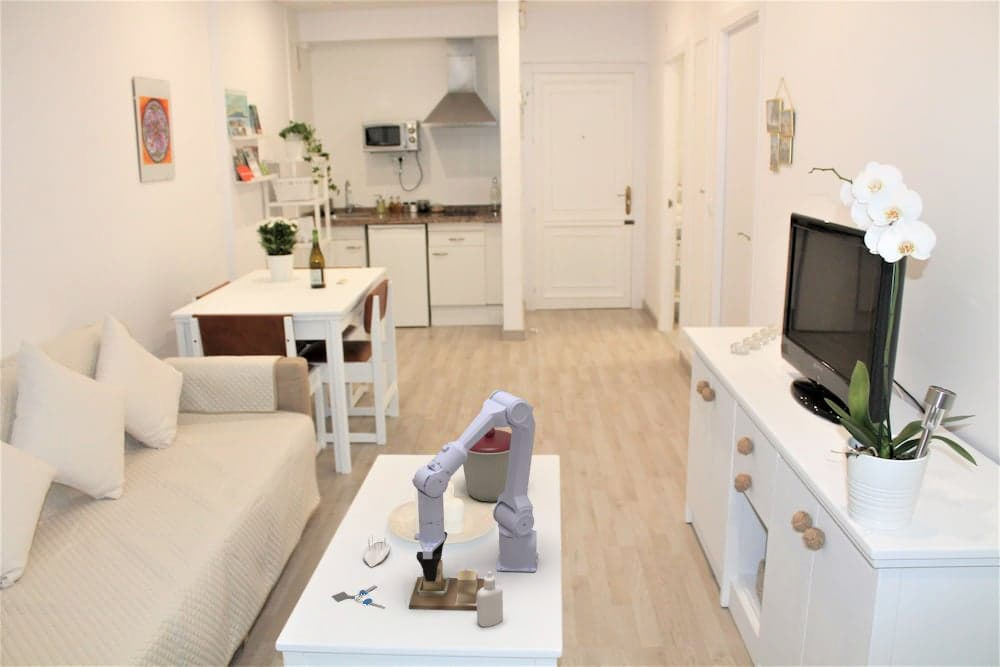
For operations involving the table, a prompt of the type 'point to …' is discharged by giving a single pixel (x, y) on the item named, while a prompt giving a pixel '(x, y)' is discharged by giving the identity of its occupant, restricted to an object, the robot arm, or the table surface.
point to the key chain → (344, 596)
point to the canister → (488, 465)
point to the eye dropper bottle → (489, 603)
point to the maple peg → (438, 582)
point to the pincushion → (376, 552)
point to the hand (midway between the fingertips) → (433, 571)
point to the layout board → (449, 593)
